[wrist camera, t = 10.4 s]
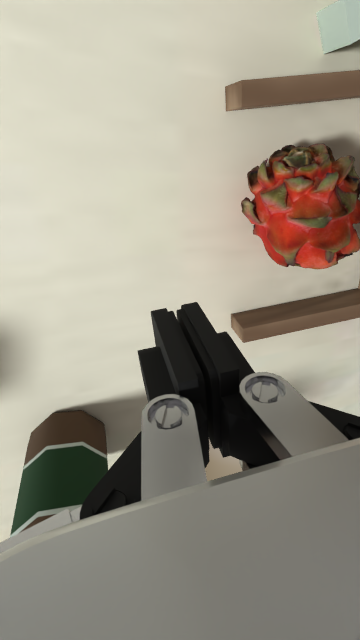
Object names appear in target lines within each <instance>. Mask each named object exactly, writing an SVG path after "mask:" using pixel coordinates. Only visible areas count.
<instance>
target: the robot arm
mask: <svg viewBox="0 0 360 640" xmlns="http://www.w3.org/2000/svg"><path fill="white" fill-rule="evenodd" d="M151 317H152V324H153V330H154V337H155V343H156V347H153V348H148V349H143V350H139V351H138V355H139V361H140V366H141V371H142V376H143V381H144V386H145V390H146V394H147V399H148V404H146V406H145V408H144V409H143V412H142V431H141V432H140V433H139V434H138V435H137V437H136V438H135V439H134V440H133V441H132V443H131V444H130V445H129V446H128V447H127V449H126V450H125V451H124V452H123V453H122V455H121V456H120V457H119V458H118V460H117V461H116V462H115V463H114V464H113V466H112V467H111V468H110V469H109V470H108V472H107V473H106V474H105V475H104V476H103V478H102V479H101V480H100V481H99V482H98V484H97V485H96V486H95V487H94V488H93V490H92V491H91V492H90V493H89V494H88V496H87V497H86V499H85V501H84V502H83V504H82V506H81V507H79V508H77V509H75V510H73V511H71V512H69V509H68V508H67V509H66V510H64V511H62V512H60V513H58V514H56V515H54V516H52V517H50V518H48V519H46V520H44V521H42V522H40V523H38V524H36V525H34V526H32V527H30V528H28V529H26V530H24V531H22V532H20V533H18V534H16V535H14V536H12V537H11V538H9V539H7V540H5V541H3V542H1V543H0V640H360V417H358V416H355V415H352V414H348V413H345V412H342V411H339V410H335V409H332V408H329V407H326V406H322V405H319V404H316V403H313V402H309V401H307V400H306V399H305V398H304V397H303V396H302V395H301V394H300V393H299V392H298V391H297V390H296V389H294V388H293V387H292V386H291V385H290V384H289V383H288V382H287V381H286V380H285V379H283V378H282V377H280V376H278V375H276V374H273V373H267V372H257V373H255V372H254V371H253V369H252V368H251V366H250V365H249V363H248V362H247V360H246V359H245V357H244V356H243V355H242V353H241V352H240V350H239V349H238V347H237V346H236V344H235V343H234V341H233V340H232V339H231V337H230V336H229V334H228V333H227V332H222V333H216V331H215V330H214V328H213V326H212V325H211V323H210V322H209V320H208V319H207V317H206V315H205V314H204V312H203V311H202V309H201V308H200V306H199V304H198V303H197V302H194V303H189V304H184V305H182V306H181V309H179V310H177V319H176V317H175V314H174V312H173V311H169V312H168V311H167V309H166V308H164V309H159V310H154V311H151ZM209 439H210V442H211V444H212V446H213V448H214V449H215V448H219V449H220V451H221V454H222V456H223V457H227V456H232V457H235V458H237V459H239V460H240V466H241V468H242V470H243V471H242V472H238V473H235V474H232V475H228V476H225V477H221V478H218V479H214V480H211V481H208V482H207V479H206V473H205V468H206V466H207V464H208V463H209Z"/></svg>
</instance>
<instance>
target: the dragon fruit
mask: <svg viewBox="0 0 360 640" xmlns="http://www.w3.org/2000/svg"><path fill="white" fill-rule="evenodd" d="M267 160H268V159H267ZM267 160H265V161H263V163H262V164H261V166H260V168H259V166H257V167H255V168H253V169H252V170H251V171H250V172H248V174H247V177H248V185H249V188H250V191H251V192H252V193H253V194H254V195H255V198H254V200H253V201H252V202H251V201H250V199H249V198H247V197H246V198H245V199H244V200H243V201H242V202H241V205H242V212H243V213H244V215H245V216H246V217H247V218H248V219H249V221H250V222H251V223H252V224H255V225H254V230H253V234H255V235H258V236H259V237H260V238H261V239H262V241H263V243H264V246H265V249H266V251H267V252H268V255H269V256H270V257H271V258H272V259H273V260H274V261H275V262H276V263H277V264H279V265H282V266H285V267H288V266H289V265H291V266H299V267H303V268H312V269H324V268H328V267H331V266H333V265H336V264H338V260H340V259H343V258H344V257H346V256H350V255H352V254H353V252H357V251H358V250H359V249H360V239H359V238H358V235H357V232H356V230H355V229H354V228H353V223H354V224H357V223H360V200H358V197H359V194H360V180H359V177H358V175H357V174H356V172H355V170H354V167H353V163H354V161H355V158H354V157H353V156H346V157H341V158H339V159H338V160H336V161H335V160H334V157H333V156H332V151H331V149H330V148H329V147H327V146H325V144H314V145H311V146H309V147H308V148H307V147H303V146H302V147H295V146H293V145H287V146H285V147H283V148H282V149H281V150H277V151H275V152H274V153H273V154H272V155H271V156H270V158H269V165H270V167H266V163H267Z"/></svg>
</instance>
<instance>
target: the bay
mask: <svg viewBox="0 0 360 640" xmlns="http://www.w3.org/2000/svg"><path fill="white" fill-rule="evenodd" d="M225 93H226V111H232V110H242V109H252V108H262V107H272V106H282V105H292V104H301V103H311V102H321V101H331V100H341V99H351V98H360V70H355V71H344V72H333V73H321V74H310V75H298V76H287V77H275V78H264V79H252V80H241V81H239V82H236V83H234V84H231V85H228V86H226V87H225ZM359 317H360V281H359V287H358V289H353V290H348V291H344V292H339V293H334V294H329V295H324V296H319V297H314V298H309V299H304V300H299V301H294V302H289V303H284V304H279V305H274V306H269V307H265V308H260V309H255V310H250V311H245V312H240V313H235V314H231V326H232V329H233V330H234V331H235V333H236V334H237V335H238V337H239V338H240V339H241V340H242V342H243V343H245V342H249V341H254V340H259V339H263V338H268V337H272V336H277V335H281V334H286V333H291V332H295V331H300V330H304V329H309V328H314V327H318V326H323V325H327V324H332V323H337V322H341V321H346V320H350V319H355V318H359Z"/></svg>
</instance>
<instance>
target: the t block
mask: <svg viewBox="0 0 360 640" xmlns="http://www.w3.org/2000/svg"><path fill="white" fill-rule="evenodd" d="M316 14H317V20H318V25H319V31H320V36H321V42H322V47H323V53H324V54H325V53H328V52H331V51H333V50H336V49H339V48H342V47H344V46H347V45H350V44H352V43H354V42H356V41H357V40H359V39H360V0H338V1H337V2H335V3H333V4H331V5H329V6H328V7H326V8H324V9H322V10H320V11H319V12H317V13H316Z"/></svg>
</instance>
